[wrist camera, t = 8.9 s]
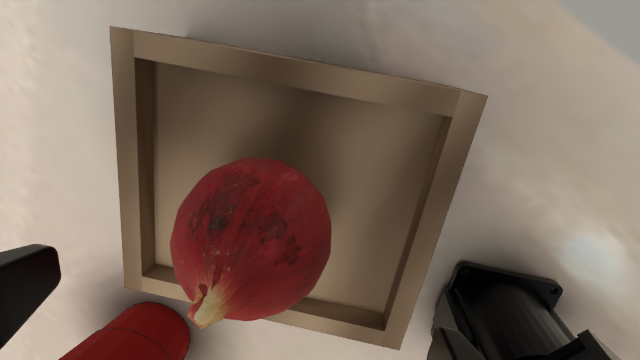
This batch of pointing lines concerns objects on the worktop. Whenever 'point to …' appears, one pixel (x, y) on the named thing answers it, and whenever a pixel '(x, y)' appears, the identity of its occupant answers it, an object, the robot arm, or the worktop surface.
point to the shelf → (292, 165)
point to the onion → (249, 241)
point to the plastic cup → (137, 336)
